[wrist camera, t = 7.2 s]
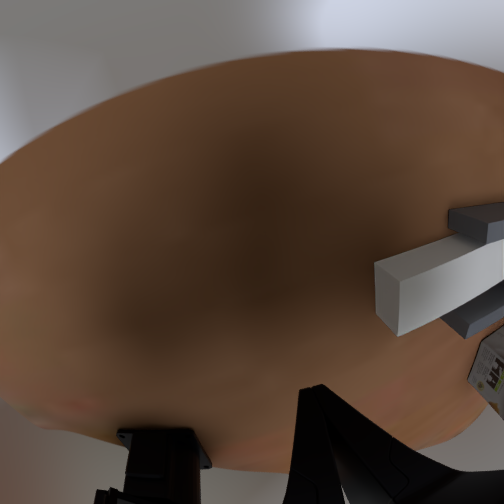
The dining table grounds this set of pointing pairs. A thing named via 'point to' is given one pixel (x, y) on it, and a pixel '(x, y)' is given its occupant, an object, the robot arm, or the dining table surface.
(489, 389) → the coffee box
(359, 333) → the dining table surface
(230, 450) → the dining table surface
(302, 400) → the robot arm
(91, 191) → the dining table surface
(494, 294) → the end cap
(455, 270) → the slat
